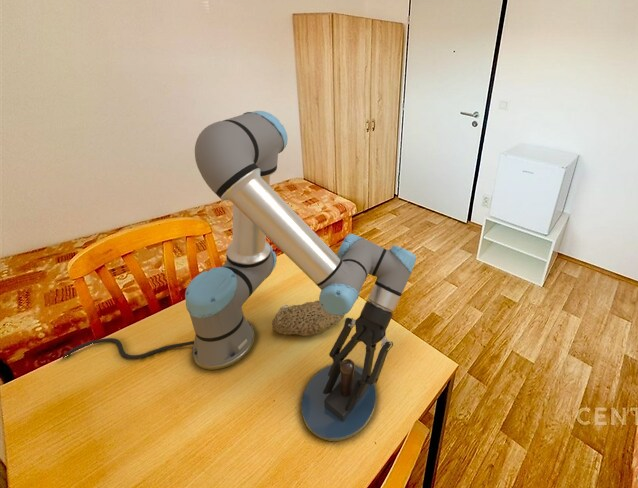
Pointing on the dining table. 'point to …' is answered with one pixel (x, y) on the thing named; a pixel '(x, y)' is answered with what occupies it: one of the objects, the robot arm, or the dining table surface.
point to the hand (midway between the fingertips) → (337, 400)
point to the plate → (323, 419)
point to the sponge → (304, 319)
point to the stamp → (343, 390)
